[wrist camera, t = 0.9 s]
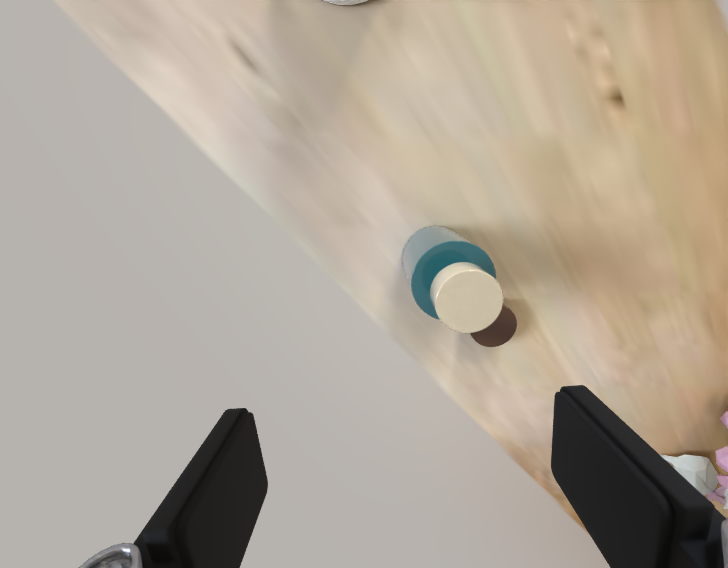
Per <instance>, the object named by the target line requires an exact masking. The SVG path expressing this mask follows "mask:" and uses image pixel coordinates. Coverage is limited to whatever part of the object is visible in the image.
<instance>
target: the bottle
mask: <svg viewBox="0 0 728 568" xmlns="http://www.w3.org/2000/svg"><path fill="white" fill-rule="evenodd" d="M402 263H403V267H404V270H405V273H406V276H407V279H408V282H409V285H410V288H411V291H412V294H413V297H414V299H415V301H416V303H417V304H418V306H419V307H420V308H421V309H422V310H423V311H424V312H425V313H427V314H428V315H430V316H431V317H433V318H436V319H439V320H441V322H442V323H443V324H444V325H445V326H447V327H448V328H450V329H451V330H454V331H456V332H461V333H473V332H477V331H480V330H483V329H485V328H486V327H488V326H489V325H491V324H492V323H493V322H494V321H495V320H496V318H497V317H498V315H499V314H500V312H501V309H502V305H503V292H502V289H501V287H500V285H499V283H498V282H497V281H496V273H495V268H494V265H493V263H492V261H491V259H490V257H489V256H488V255H487V253H486V252H485V251H484V250H482V249H481V248H480V247H478V246H476V245H475V244H473V243H472V242H470V241H468V240H467V239H465V238H464V237H462V236H460V235H459V234H457V233H455V232H454V231H452V230H450V229H448V228H446V227H442V226H429V227H425V228H423V229H421V230H419V231H417V232H416V233H414V234H413V235H412V236H411V237H410V238H409V240H408V241H407V243H406V245H405V247H404V250H403V254H402Z"/></svg>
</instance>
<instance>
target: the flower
mask: <svg viewBox="0 0 728 568" xmlns="http://www.w3.org/2000/svg"><path fill="white" fill-rule="evenodd" d="M720 420H721V421H722V422H723V424H724V425H725V427H726V428H727V429H728V411H726V412H725V413H724V414H723V415H722V416H721V417H720ZM660 456H661V457H662V458H663V459H665V460H666V461H668V462H670V463H671V464H673V465H674V469H675V470H676V471H678V472H679V473H680V474H681V475H682V476H683V477H684V478H685V479H686V480H687V481H688V482H689V483H691V484H692V485H693V486H694V487H695V488H696V489H697V490H698V491H699V492H700V493H701V494H702V495H706V496H707V499H708V500H709V501H710V500H713V499H714V500H716V501H718V502H720V503H721V504H723V505H725V506H724V508H723V509H728V475H720V474H719V475H718V473H717V471H716V470H715V468H714V466H713V465H712V463H711V461H710V460H709V458H706V457H701V456H693V455H686V454H685V455H682V456H679V457H672V456H666V455H660ZM716 464H717V465H718V466H720V467H721V468H722V469H724V470H725V471H726V472H728V446H726V447H724V448H721V449H719V450H716ZM718 483H720V484H721V485H722V486H721V487H720V488H718V489H716V487H717V485H718ZM715 489H716V490H715Z"/></svg>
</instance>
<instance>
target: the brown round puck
mask: <svg viewBox="0 0 728 568" xmlns="http://www.w3.org/2000/svg"><path fill="white" fill-rule="evenodd" d="M516 326H517V322H516V317H515V315H514V313H513V312H512V311H511V310H510V309H509V308H508V307H507V306H506V305H505V304H504V303H503V305H502V309H501V312H500V314H499V315H498V317H497V318H496V320H495V321H494V322H493V323H492V324H491V325H489V326H488V327H486V328H485V329H483V330H480V331H477V332H473V333H470V334H471V336H472V337H473V339H474V340H475V341H476V342H477V343H479V344H481V345H483V346H487V347H496V346H499V345H502V344H504V343H506V342H507V341H508V340H510V339H511V337H512V336H513V335H514V333H515V330H516Z"/></svg>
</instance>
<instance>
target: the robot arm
mask: <svg viewBox="0 0 728 568" xmlns="http://www.w3.org/2000/svg"><path fill="white" fill-rule="evenodd" d="M323 1H325V2H329V3H333V4H337V5H354V4H359V3H363V2H366V1H368V0H323ZM551 469H552V473H553V475H554V478H555V480H556V481H557V483H558V484H559V486H560V488H561V489H562V491H563V492H564V494H565V496H566V497H567V499H568V500H569V502H570V504H571V505H572V507H573V508H574V510H575V512H576V513H577V515H578V516H579V518H580V520H581V521H582V523H583V524H584V526H585V528H586V529H587V531H588V532H589V534H590V536H591V537H592V539H593V540H594V542H595V544H596V545H597V547H598V548H599V550H600V551H601V553H602V554H603V556H604V558H605V559H606V561H607V563H608V564H609V566H610V567H611V568H728V518H727V519H726V518H725V517H724V516H723V515H722V514H721V513H720V512H719V511H717V510H716V509H715V508H714V505H713V504H712V503H711V502H710V501H709V500H708V499H707V498H706V497H705V496H704V495H702V494H701V493H700V492H699V491H698V490H697V489H696V488H695V487H694V486H693V485H692V484H691V483H689V482H688V481H687V480H686V479H685V478H684V477H683V476H682V475H681V474H680V473H679V472H678V471H676V470H675V469H674V468H673V467H672V466H671V465H670V464H669V463H668V462H667V461H666V460H665V459H663V458H662V457H661V456H660V455H659V454H658V453H657V452H656V451H655V450H654V449H653V448H652V447H651V446H649V445H648V444H647V443H646V442H645V441H644V440H643V439H642V438H641V437H640V436H639V435H638V434H636V433H635V432H634V431H633V430H632V429H631V428H630V427H629V426H628V425H627V424H626V423H625V422H623V421H622V420H621V419H620V418H619V417H618V416H617V415H616V414H615V413H614V412H613V411H612V410H610V409H609V408H608V407H607V406H606V405H605V404H604V403H603V402H602V401H601V400H600V399H599V398H597V397H596V396H595V395H594V394H593V393H592V392H591V391H590V390H589V389H588V388H587V387H585V386H583V385H578V386H564V387H561V389H560V392H556V394H555V401H554V419H553V438H552V456H551ZM267 488H268V481H267V476H266V471H265V466H264V462H263V457H262V453H261V448H260V443H259V439H258V434H257V429H256V425H255V420H254V416H253V414H252V413H251V412H250V413H248V411H247V409H246V408H238V409H228V410H226V411H225V412H224V413H223V415H222V416H221V418H220V419H219V421H218V422H217V424H216V425H215V426H214V428H213V429H212V431H211V432H210V434H209V435H208V437H207V438H206V440H205V441H204V442H203V444H202V445H201V447H200V448H199V450H198V451H197V453H196V454H195V455H194V457H193V458H192V460H191V461H190V463H189V464H188V465H187V467H186V468H185V470H184V471H183V473H182V474H181V475H180V477H179V478H178V480H177V481H176V483H175V484H174V486H173V487H172V489H171V490H170V491H169V493H168V494H167V496H166V497H165V499H164V500H163V502H162V503H161V504H160V506H159V507H158V509H157V510H156V512H155V513H154V515H153V516H152V517H151V519H150V520H149V522H148V523H147V525H146V526H145V528H144V529H143V530H142V532H141V533H140V535H139V536H138V538H137V539H136V541H135V542H134V544H132V543H121V544H117V545H113V546H111V547H109V548H107V549H104V550H102V551H100V552H99V553H97V554H96V555H94V556H93V557H91V558H90V559H88V560H87V561H86V562H85V563H83V564H82V565H81V566H80V567H79V568H240V565H241V562H242V559H243V557H244V554H245V551H246V548H247V546H248V543H249V540H250V537H251V535H252V532H253V529H254V526H255V524H256V521H257V518H258V515H259V513H260V510H261V507H262V504H263V502H264V499H265V496H266V493H267Z"/></svg>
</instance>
